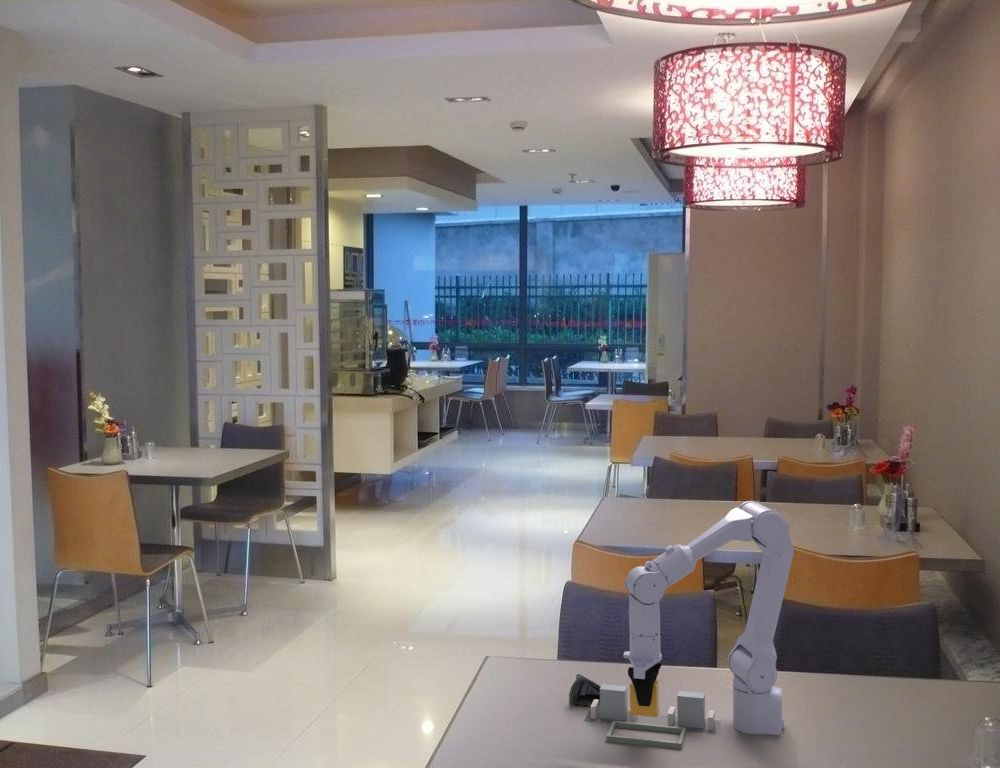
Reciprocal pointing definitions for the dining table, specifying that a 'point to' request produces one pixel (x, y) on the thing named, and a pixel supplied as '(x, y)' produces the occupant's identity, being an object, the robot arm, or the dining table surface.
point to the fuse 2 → (691, 709)
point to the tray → (643, 741)
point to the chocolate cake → (582, 689)
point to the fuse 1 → (613, 702)
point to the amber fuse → (645, 710)
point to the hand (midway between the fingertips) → (645, 701)
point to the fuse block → (656, 719)
